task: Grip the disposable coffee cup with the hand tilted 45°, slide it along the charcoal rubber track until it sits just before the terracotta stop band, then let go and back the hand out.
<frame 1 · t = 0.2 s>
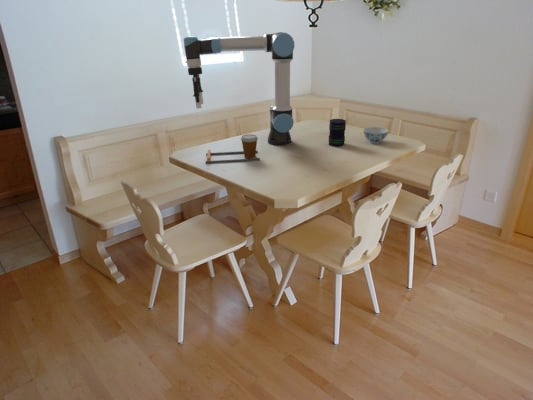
hand: (200, 106, 224), 27 cm above the table, tool pointing down, fingers open, 13 cm apart
chinaware: (374, 142, 248), on the table
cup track: (232, 157, 225), on the table
disposable coffee cup: (249, 157, 226), on the table
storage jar: (336, 144, 245), on the table
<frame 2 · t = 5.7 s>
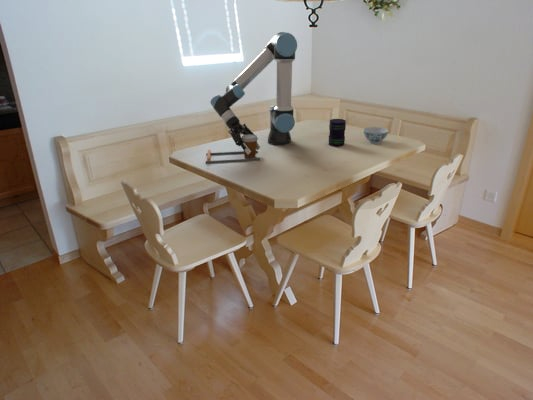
hand: (254, 150, 223), 4 cm above the table, tool tilted 45°, fingers closed on disposable coffee cup, 9 cm apart
disposable coffee cup: (249, 157, 226), on the table, touching gripper
everything else where it was.
when the fingers open (5 cm above the table, at t = 11.5 s): disposable coffee cup moves 4 cm, on the table.
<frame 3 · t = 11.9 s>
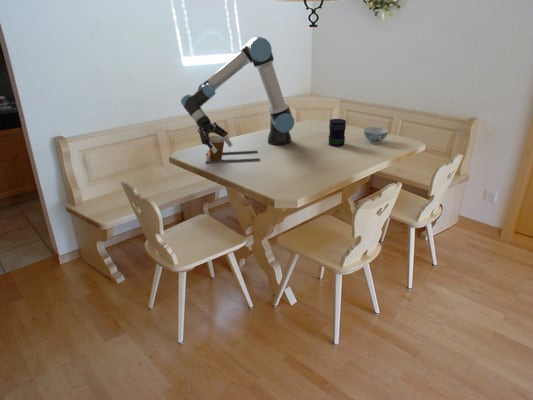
hand: (223, 149, 221), 6 cm above the table, tool tilted 45°, fingers open, 13 cm apart
disposable coffee cup: (216, 159, 222), on the table, touching gripper
everything else where it was.
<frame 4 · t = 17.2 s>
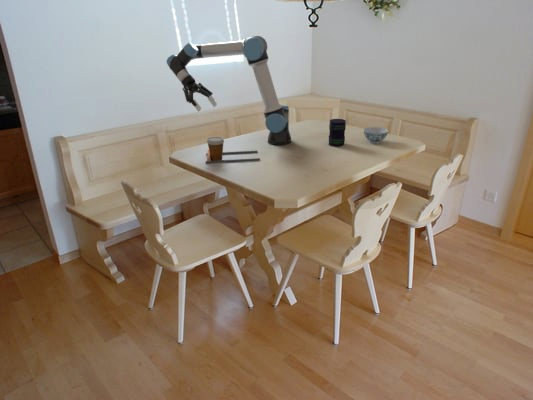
hand: (208, 107, 227), 26 cm above the table, tool tilted 45°, fingers open, 13 cm apart
disposable coffee cup: (216, 160, 222), on the table, touching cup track
everything else where it was.
at the end: disposable coffee cup inside the target area (3.2 cm from its centre), on the table; disposable coffee cup tilted 1°; the gripper is holding nothing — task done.
